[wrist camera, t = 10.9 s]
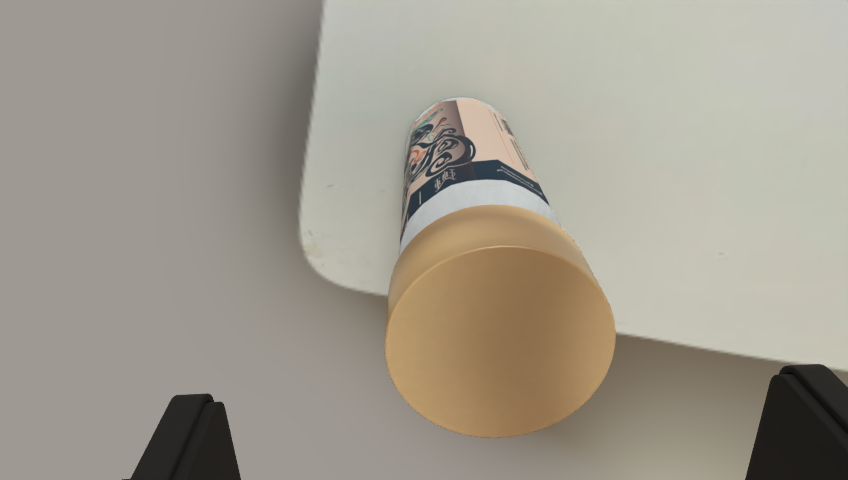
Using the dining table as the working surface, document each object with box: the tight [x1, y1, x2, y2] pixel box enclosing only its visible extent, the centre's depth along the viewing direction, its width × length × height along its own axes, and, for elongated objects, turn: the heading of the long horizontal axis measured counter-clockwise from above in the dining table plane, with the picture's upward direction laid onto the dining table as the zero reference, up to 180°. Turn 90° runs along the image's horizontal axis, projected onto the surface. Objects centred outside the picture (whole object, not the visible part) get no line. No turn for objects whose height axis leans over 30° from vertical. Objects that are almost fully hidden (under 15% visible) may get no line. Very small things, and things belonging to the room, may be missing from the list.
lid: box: [385, 204, 616, 438], centre depth 16 cm, size 6×6×2 cm
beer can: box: [399, 97, 562, 256], centre depth 22 cm, size 5×5×12 cm
